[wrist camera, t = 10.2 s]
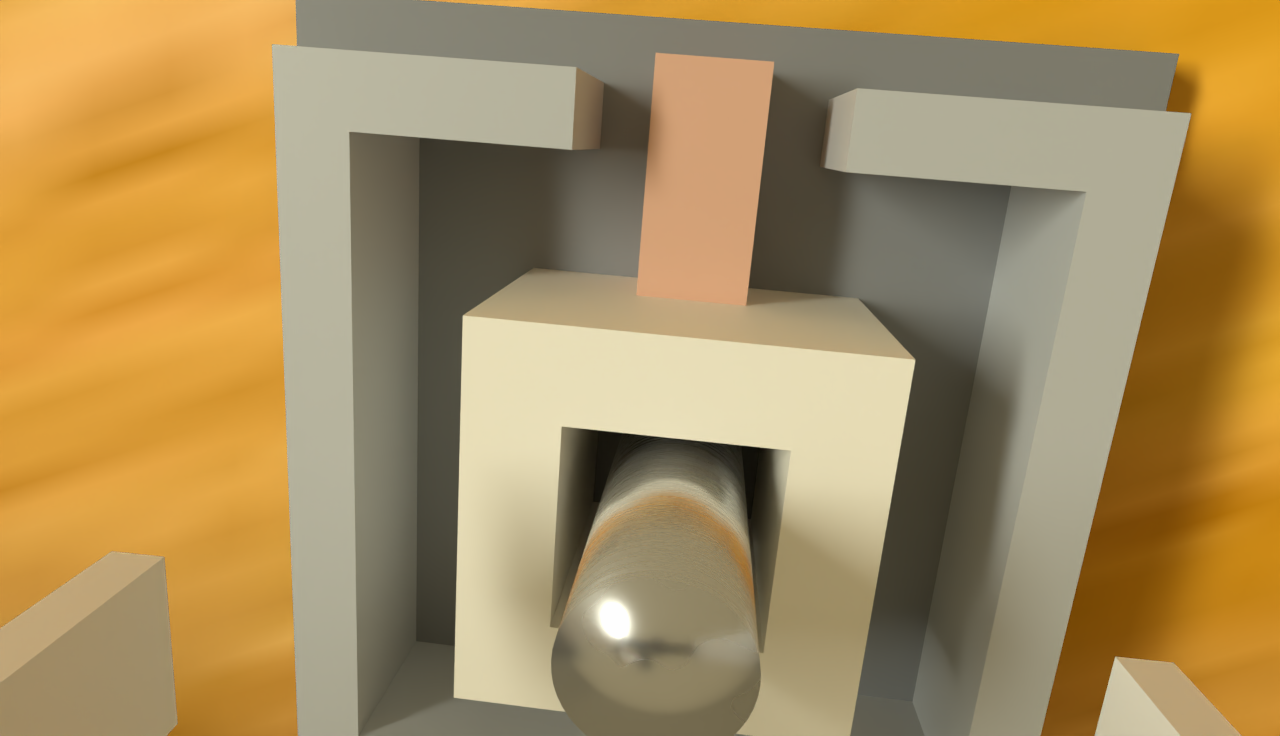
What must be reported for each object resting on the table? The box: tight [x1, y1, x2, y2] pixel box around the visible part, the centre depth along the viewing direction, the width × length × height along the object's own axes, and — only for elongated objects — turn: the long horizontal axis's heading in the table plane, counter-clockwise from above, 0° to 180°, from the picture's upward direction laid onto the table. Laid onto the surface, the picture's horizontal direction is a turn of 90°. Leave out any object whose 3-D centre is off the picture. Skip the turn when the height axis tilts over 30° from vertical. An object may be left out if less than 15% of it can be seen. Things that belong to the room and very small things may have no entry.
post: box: [551, 433, 761, 736], centre depth 17 cm, size 3×3×10 cm
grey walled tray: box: [272, 0, 1191, 736], centre depth 20 cm, size 20×20×5 cm
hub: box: [454, 53, 915, 736], centre depth 18 cm, size 13×8×6 cm, turn 175°
